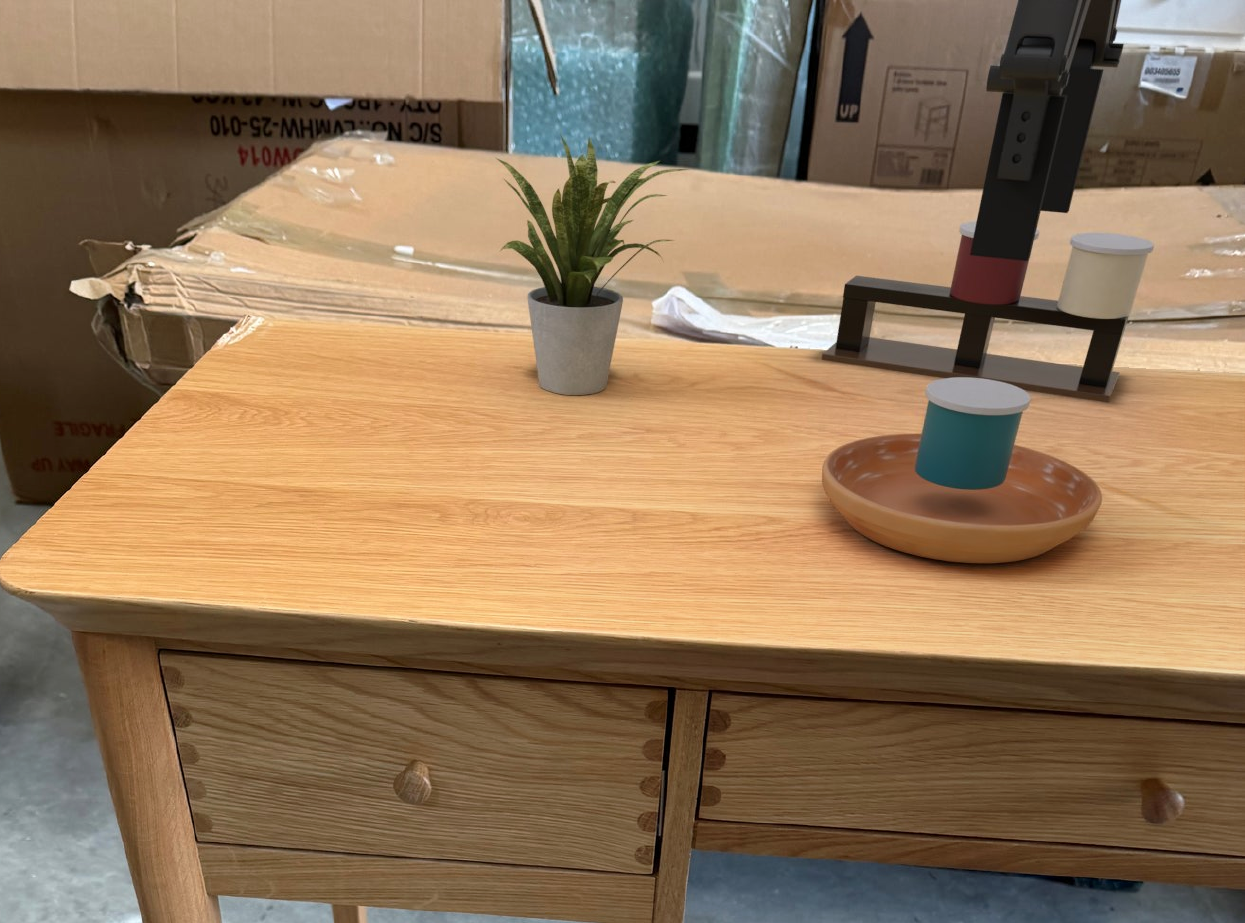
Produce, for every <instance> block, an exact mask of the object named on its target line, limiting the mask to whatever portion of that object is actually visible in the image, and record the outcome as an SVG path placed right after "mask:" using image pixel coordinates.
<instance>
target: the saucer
mask: <svg viewBox="0 0 1245 923" xmlns="http://www.w3.org/2000/svg"><path fill="white" fill-rule="evenodd" d="M921 435H922V432H919V433H916V432H915V433H896V434H895V433H894V434H883V435H876V436H870V437H865V438H861V439H857V440H853V441H850V442H848V443H844V444H842V445H840V446H839V447H836V448H835V449H834V450H832V451H831V452H830V453H829V454H828V455H827V456H826V457H825V459H824V461H823V464H822V467H821V468H822V469H821V484H822V489H823V491H824V493H825V495H826V496H827V497H828V498H829V500H830V502H831V504H832V505H833V507H834V508H835V509H836V510H837V512H839V513H840V514H841V516H842V517H843V519H844V520H845V521H846V522H847V524H848V525H849V526H850V527H851V528H853V529H854V530H855V531H856V532H858V533H859V534H860V535H862V536H863V537H865V538H867V539H869V540H870V541H873V542H875V543H877V544H879V545H881V546H883V547H886V548H890V549H892V550H895V551H899V552H902V553H905V554H909V555H912V556H917V557H922V558H927V559H932V560H938V561H945V562H951V563H952V562H953V563H963V564H964V563H965V564H1003V563H1011V562H1018V561H1019V562H1020V561H1023V560H1028V559H1032V558H1035V557H1038V556H1041V555H1042V554H1045V553H1047V552H1048V551H1051V550H1052V549H1054V548H1055V547H1058V545H1061V544H1063V543H1066V542H1068V541H1069V540H1071V539H1072V538H1073V537H1075V536H1076V535H1077V534H1078V533H1079V534H1080V533H1081V532H1083V531H1084V530H1086V529H1087V528H1088V527H1089V526H1090V525H1091V524H1092V523H1093V521H1094V519H1095V517H1096V515H1097V514H1098V511H1099V509H1100V508H1101V505H1102V501H1103V495H1102V490H1101V489H1100V487H1099V485H1098V484H1097V483H1096V481H1094V479H1093V478H1092V477H1091V476H1089V475H1088V474H1087V473H1086V472H1085V471H1083V470H1081V469H1079V468H1077V467H1076V466H1074V465H1072V464H1070V463H1069V462H1066V461H1064V460H1062V459H1060V458H1057V457H1056V456H1053V455H1050V454H1047V453H1045V452H1041V451H1039V450H1036V449H1031V448H1029V447H1026V446H1023V445H1022V446H1021V445H1018V444H1014V448H1013V452H1012V455H1011V459H1010V463H1009V467H1008V471H1007V475H1006V479H1005V481H1004V482H1003V483H1002V484H1001V485H999V486H997V487H993V488H989V489H980V490H967V489H956V488H950V487H945V486H941V485H938V484H934V483H932V482H929V481H927V480H925V479H923V478H921V477H920V476H919V475H918V474H917V473H916V472H915V463H916V458H917V454H918V449H919V444H920V439H921Z"/></svg>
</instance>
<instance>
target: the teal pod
mask: <svg viewBox="0 0 1245 923" xmlns="http://www.w3.org/2000/svg"><path fill="white" fill-rule="evenodd" d="M925 397H926V399H927V400H928V402H927V406H926V410H925V415H924V420H923V424H922V425H923V426H922V429H921V430H922V431H921V434H922V435H921V439H920V444H919V449H918V454H917V458H916V463H915V472H916V473H917V474H918V475H919V476H920V477H921V478H923V479H925V480H927V481H929V482H932V483H934V484H938V485H941V486H945V487H950V488H956V489H967V490H980V489H989V488H993V487H997V486H999V485H1001V484H1002V483H1003V482H1004V481H1005V479H1006V475H1007V471H1008V467H1009V463H1010V459H1011V455H1012V452H1013V448H1014V445H1016V444H1015V443H1016V439H1017V436H1018V432H1019V428H1020V424H1021V420H1022V418H1023V417H1022V416H1023V412H1024V411H1026V410H1027V409H1028V408H1029V406H1030V405H1031V404H1030V403H1031V399H1032V398H1031V397H1032V396H1031V395H1030V394H1029V393H1028V391H1027V390H1023V389H1021V388H1019V387H1016V386H1014V385H1011V384H1007V383H1004V382H1000V381H995V380H989V379H982V378H969V377H955V378H940V379H936V380H933V381H931V382H929V383H928V384H927V386H926V389H925Z"/></svg>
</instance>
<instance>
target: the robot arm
mask: <svg viewBox="0 0 1245 923" xmlns="http://www.w3.org/2000/svg"><path fill="white" fill-rule="evenodd" d="M1121 4H1122V0H1017V4H1016V7H1015V11H1014V16H1013V18H1012V23H1011V27H1010V30H1009V33H1008V38H1007V41H1006V45H1005V50H1004V53H1002V54H1001V57H1000V59H999V64H998V65H990V66H989V70H988V74H987V81H986V87H985V88H986V92H991V93H1002V95H1001V99H1000V104H999V109H998V114H997V119H996V124H995V128H994V133H993V139H992V144H991V149H990V155H989V158H988V164H987V169H986V173H985V179H984V183H983V187H982V193H981V197H980V203H979V208H978V212H977V218H976V221H977V222H976V227H975V232H974V237H973V242H972V247H971V252H970V255H973V256H983V257H992V258H1002V259H1012V260H1021V261H1028V260H1029V261H1030V258H1031V255H1032V250H1033V247H1034V242H1035V240H1034V238H1035V233H1036V229H1037V230H1038V226H1039V219H1040V217H1041V216H1040V215H1041V212H1050V213H1059V214H1060V213H1062V214H1068V213H1069V212H1070V208H1071V205H1072V201H1073V200H1072V199H1073V197H1074V192H1075V188H1076V184H1077V180H1078V175H1079V172H1080V167H1081V165H1082V164H1081V163H1082V159H1083V155H1084V151H1085V146H1086V143H1087V139H1088V135H1089V130H1090V127H1091V122H1092V118H1093V115H1094V110H1095V107H1096V102H1097V98H1098V94H1099V90H1100V85H1101V81H1102V78H1103V74H1104V69H1103V68H1116V69H1117V68H1118V67H1119V64H1120V61H1121V58H1122V53H1123V49H1124V45H1125V44H1124V43H1116V42H1115V41H1116V38H1117V34H1118V29H1117V23H1118V20H1119V14H1120V8H1121ZM1114 42H1115V43H1114ZM1094 67H1097V68H1094ZM1099 67H1101V68H1102V69H1099Z"/></svg>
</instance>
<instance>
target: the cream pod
mask: <svg viewBox="0 0 1245 923" xmlns="http://www.w3.org/2000/svg"><path fill="white" fill-rule="evenodd" d="M1069 245H1070V246H1071V251H1070V254H1069V258H1068V262H1067V266H1066V270H1065V274H1064V278H1063V281H1062V284H1061V289H1060V293H1059V297H1058V300H1057V301H1058V304H1057V307H1058V309H1060V310H1061V311H1063V312H1066V313H1069V314H1072V315H1077V316H1082V317H1088V318H1098V319H1117V318H1123V317H1127V316H1130V315H1131V314H1132V313H1131V312H1132V308H1133V305H1134V303H1135V300H1136V295H1137V292H1138V288H1139V285H1140V282H1141V278H1142V275H1143V272H1144V269H1145V265H1146V261H1147V258H1148V255H1149V254H1151V253H1152V252H1153V251H1154V249H1155V248H1154V247H1155V243H1154V242H1152V241H1150V240H1149V239H1145V238H1142V237H1139V236H1133V235H1128V234H1121V233H1111V232H1110V233H1109V232H1083V233H1076V234H1074V235H1071V237H1070V240H1069Z"/></svg>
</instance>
